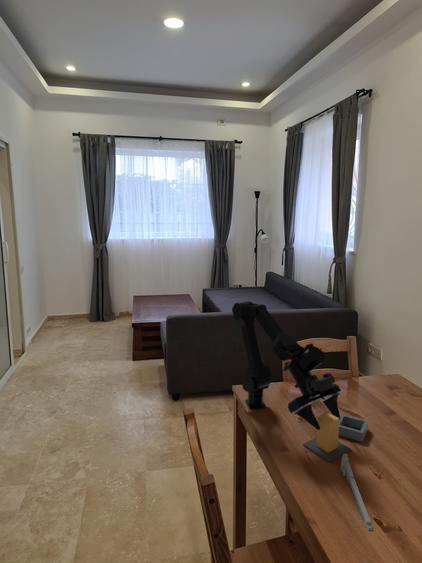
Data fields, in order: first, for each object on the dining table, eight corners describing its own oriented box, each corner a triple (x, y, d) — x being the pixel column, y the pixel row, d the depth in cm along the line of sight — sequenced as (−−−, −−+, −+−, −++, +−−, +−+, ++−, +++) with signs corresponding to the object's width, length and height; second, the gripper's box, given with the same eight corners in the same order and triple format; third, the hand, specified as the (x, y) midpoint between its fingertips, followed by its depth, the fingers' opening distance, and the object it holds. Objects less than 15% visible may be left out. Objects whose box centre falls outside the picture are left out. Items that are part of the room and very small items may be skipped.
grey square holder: (334, 434, 122) (335, 425, 122) (341, 422, 129) (341, 414, 129) (362, 442, 118) (363, 433, 117) (367, 429, 125) (368, 421, 124)
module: (316, 445, 115) (317, 416, 114) (325, 440, 118) (327, 412, 116) (327, 452, 112) (329, 423, 110) (337, 447, 114) (339, 418, 113)
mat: (302, 445, 116) (302, 443, 116) (324, 434, 122) (324, 433, 122) (329, 462, 108) (329, 460, 108) (351, 450, 114) (351, 448, 113)
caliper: (340, 471, 105) (341, 450, 104) (344, 471, 105) (345, 450, 104) (367, 531, 85) (369, 506, 84) (372, 531, 85) (374, 506, 84)
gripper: (296, 373, 110) (325, 425, 102) (337, 359, 120) (366, 406, 113) (276, 388, 117) (302, 437, 110) (317, 374, 128) (342, 418, 120)
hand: (329, 424), depth 113 cm, fingers open, 9 cm apart
